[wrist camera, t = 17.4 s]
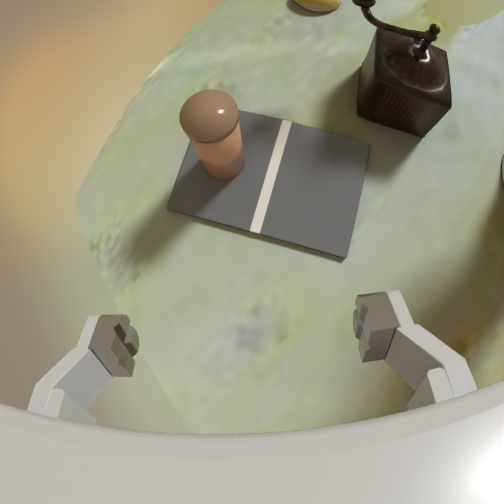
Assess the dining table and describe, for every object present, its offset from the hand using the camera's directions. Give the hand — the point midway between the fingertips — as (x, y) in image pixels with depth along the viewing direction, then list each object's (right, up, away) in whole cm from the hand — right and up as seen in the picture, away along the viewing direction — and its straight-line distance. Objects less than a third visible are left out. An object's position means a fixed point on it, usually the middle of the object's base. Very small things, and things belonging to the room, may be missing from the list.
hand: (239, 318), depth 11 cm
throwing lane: (+3, +12, +27) cm, 30 cm away
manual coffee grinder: (+18, +25, +28) cm, 42 cm away
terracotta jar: (-3, +13, +27) cm, 30 cm away
